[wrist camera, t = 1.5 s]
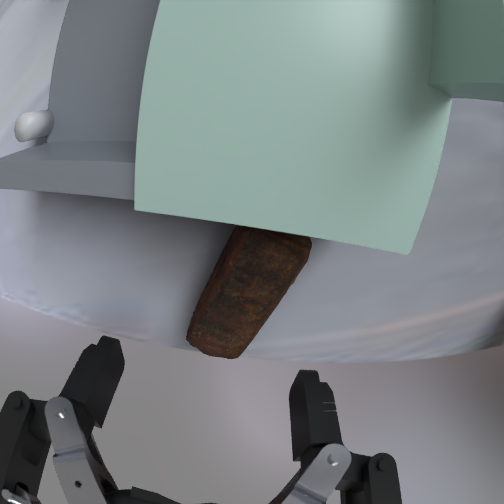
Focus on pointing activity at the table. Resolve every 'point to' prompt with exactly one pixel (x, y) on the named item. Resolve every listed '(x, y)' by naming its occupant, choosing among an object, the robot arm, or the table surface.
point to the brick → (245, 289)
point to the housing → (88, 104)
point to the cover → (309, 111)
